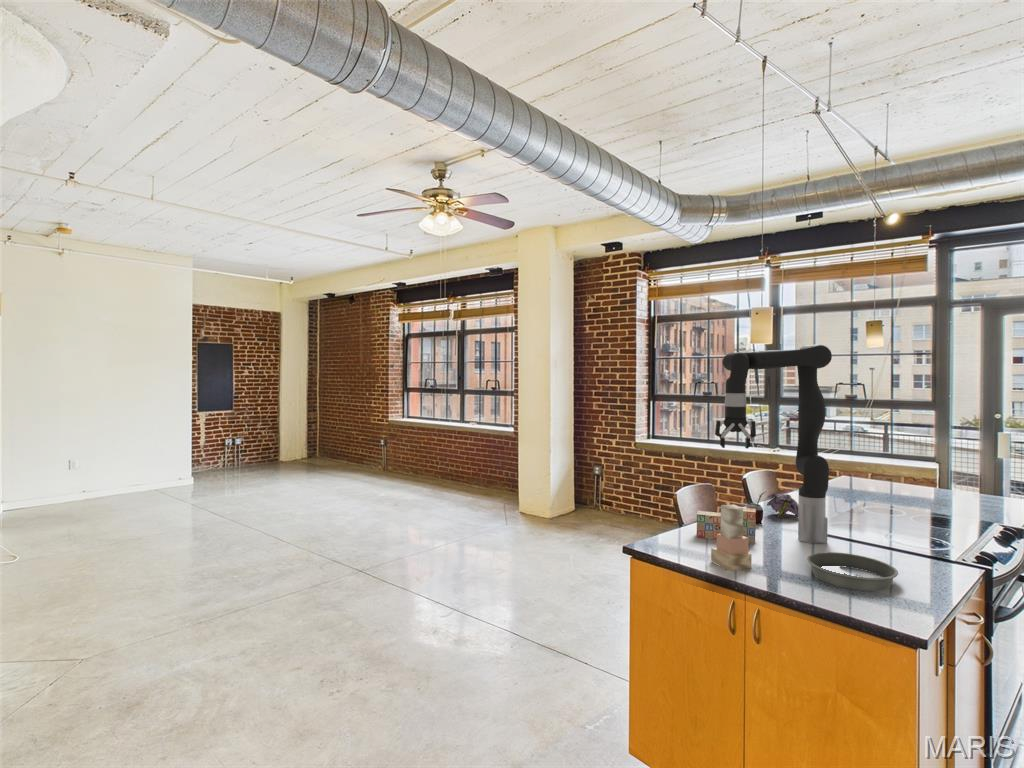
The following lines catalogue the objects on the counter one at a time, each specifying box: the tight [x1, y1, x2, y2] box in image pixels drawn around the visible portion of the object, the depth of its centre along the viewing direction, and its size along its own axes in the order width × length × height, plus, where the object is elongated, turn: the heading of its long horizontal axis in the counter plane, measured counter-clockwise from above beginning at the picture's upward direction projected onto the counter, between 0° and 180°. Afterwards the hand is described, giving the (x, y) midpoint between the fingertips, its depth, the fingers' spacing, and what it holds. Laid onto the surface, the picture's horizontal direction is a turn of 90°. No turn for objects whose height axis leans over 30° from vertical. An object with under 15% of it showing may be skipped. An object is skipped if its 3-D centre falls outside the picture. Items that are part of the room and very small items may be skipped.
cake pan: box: [806, 551, 899, 591], centre depth 177 cm, size 25×25×4 cm
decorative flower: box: [766, 492, 799, 519], centre depth 252 cm, size 14×12×15 cm
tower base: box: [710, 547, 753, 571], centre depth 189 cm, size 9×9×5 cm
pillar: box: [720, 504, 743, 539], centre depth 188 cm, size 5×5×10 cm
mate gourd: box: [745, 490, 767, 525], centre depth 240 cm, size 8×8×15 cm
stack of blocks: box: [696, 506, 757, 545], centre depth 219 cm, size 21×6×12 cm, turn 67°
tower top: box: [716, 534, 749, 555], centre depth 189 cm, size 7×7×5 cm
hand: (735, 447), depth 212 cm, fingers open, 8 cm apart
